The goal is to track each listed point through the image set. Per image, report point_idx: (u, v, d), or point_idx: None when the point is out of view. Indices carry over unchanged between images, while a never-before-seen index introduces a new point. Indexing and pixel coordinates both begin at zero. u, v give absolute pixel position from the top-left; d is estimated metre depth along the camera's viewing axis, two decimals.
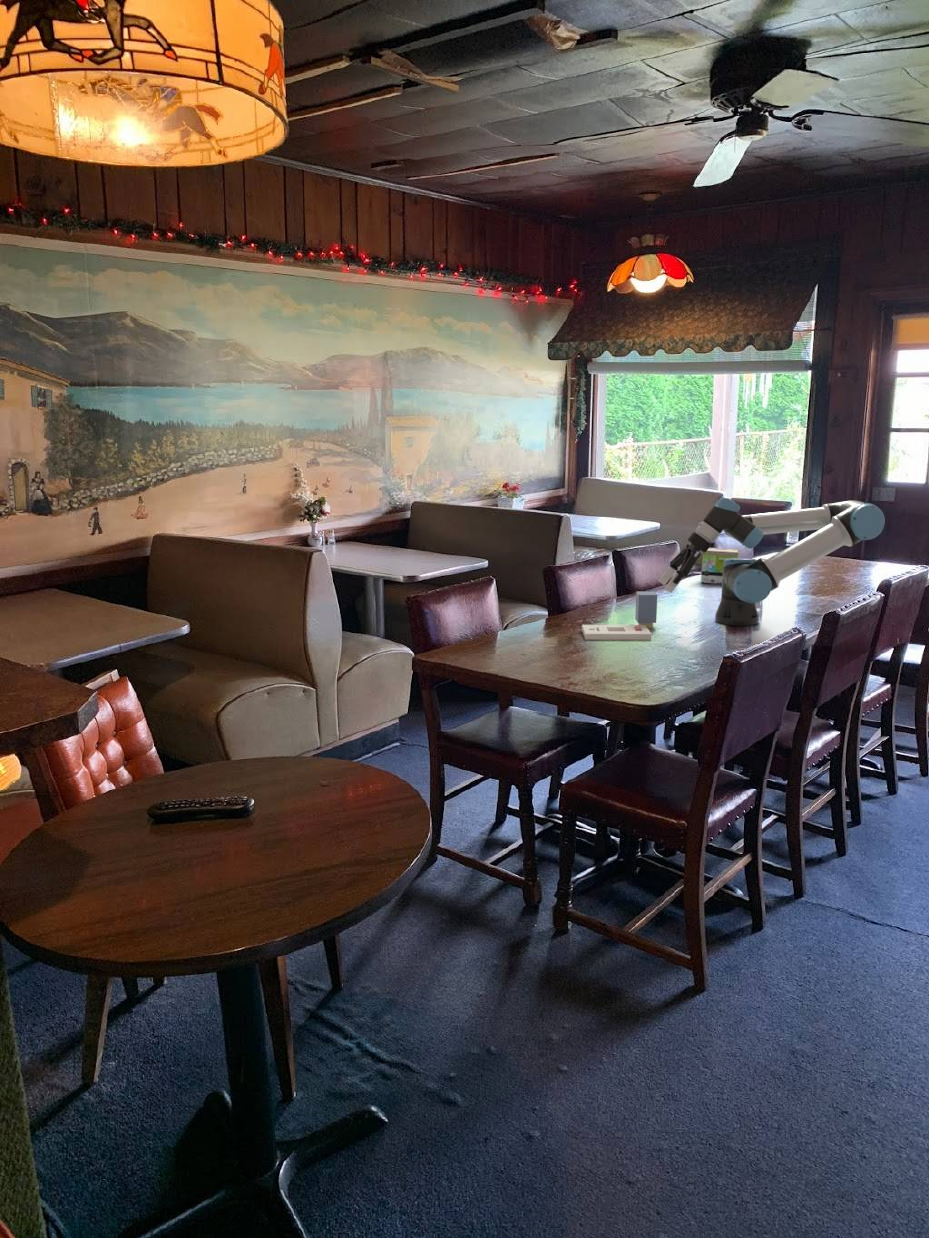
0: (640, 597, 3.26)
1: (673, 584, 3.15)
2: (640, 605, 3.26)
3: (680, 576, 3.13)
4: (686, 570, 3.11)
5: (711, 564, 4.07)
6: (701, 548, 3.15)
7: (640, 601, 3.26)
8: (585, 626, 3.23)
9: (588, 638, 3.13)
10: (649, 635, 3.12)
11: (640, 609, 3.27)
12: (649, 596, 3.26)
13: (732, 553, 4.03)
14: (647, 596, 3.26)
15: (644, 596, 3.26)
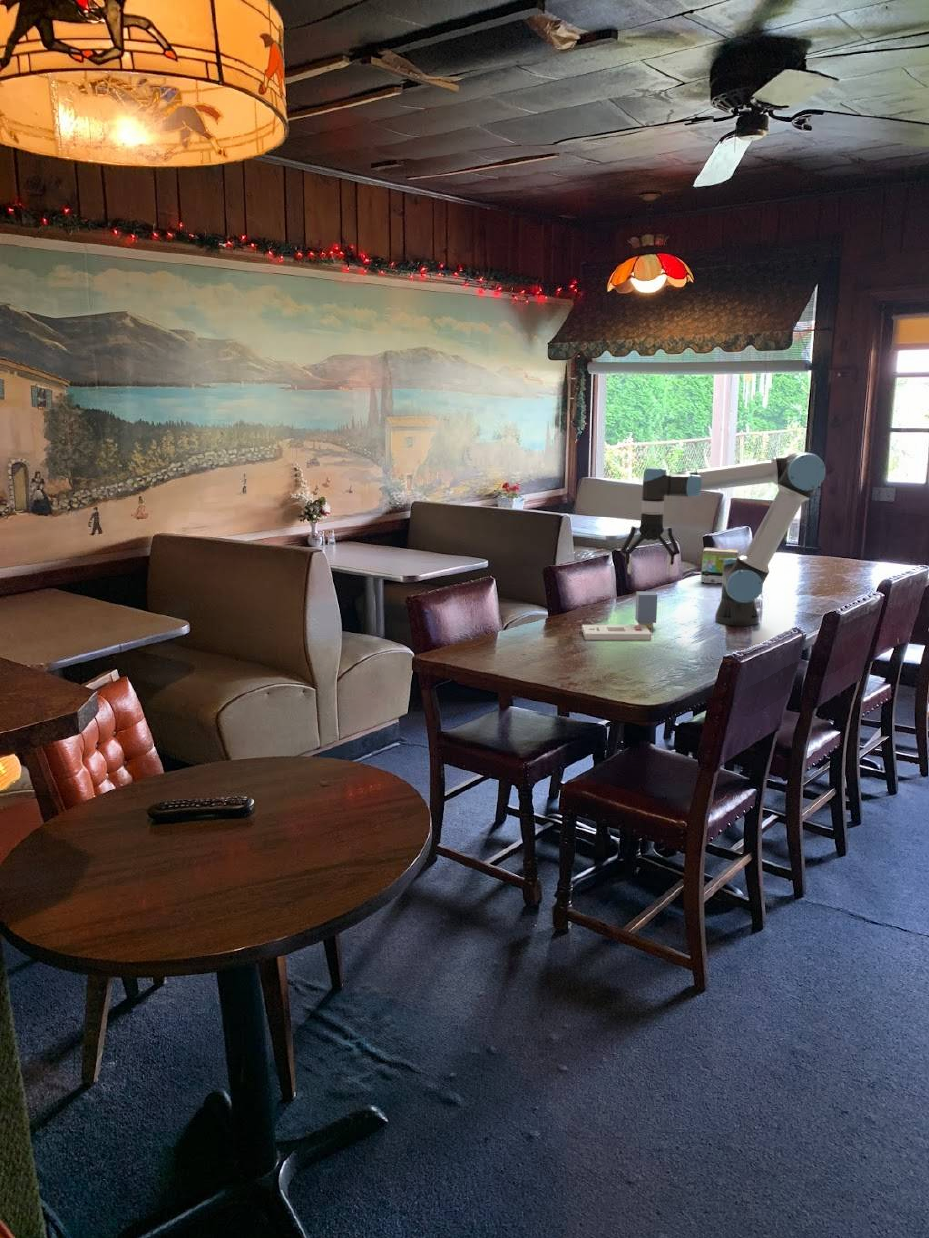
0: (640, 597, 3.26)
1: (628, 565, 3.26)
2: (640, 605, 3.26)
3: (625, 555, 3.25)
4: (622, 547, 3.25)
5: (711, 564, 4.07)
6: (641, 522, 3.22)
7: (640, 601, 3.26)
8: (585, 626, 3.23)
9: (588, 638, 3.13)
10: (649, 635, 3.12)
11: (640, 609, 3.27)
12: (649, 596, 3.26)
13: (732, 553, 4.03)
14: (647, 596, 3.26)
15: (644, 596, 3.26)
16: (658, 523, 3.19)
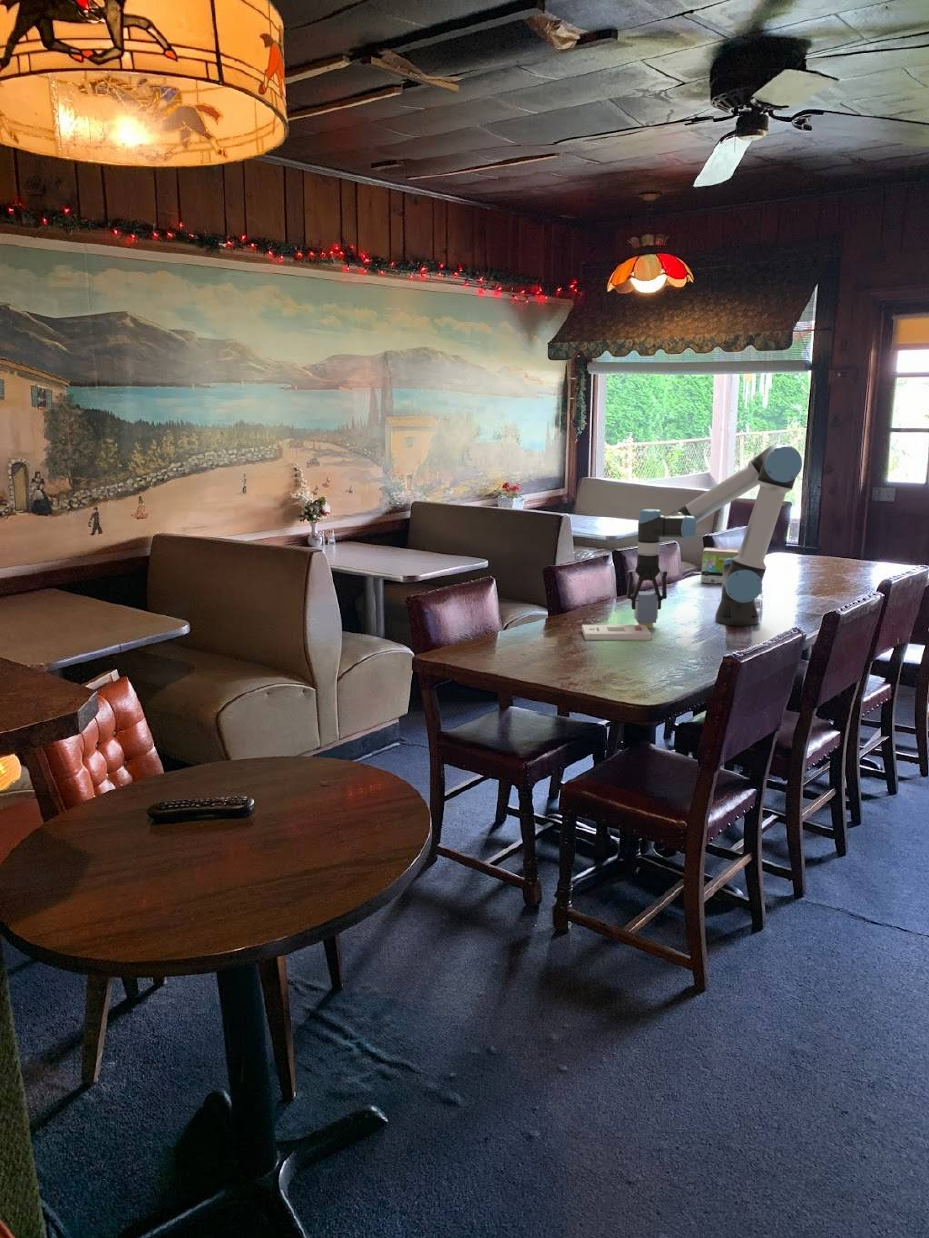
0: (640, 597, 3.26)
1: (634, 610, 3.30)
2: (640, 605, 3.26)
3: None
4: (627, 593, 3.29)
5: (711, 564, 4.07)
6: (637, 563, 3.25)
7: (640, 601, 3.26)
8: (585, 626, 3.23)
9: (588, 638, 3.13)
10: (649, 635, 3.12)
11: (640, 609, 3.27)
12: (649, 596, 3.26)
13: (732, 553, 4.03)
14: (647, 596, 3.26)
15: (644, 596, 3.26)
16: (654, 564, 3.23)
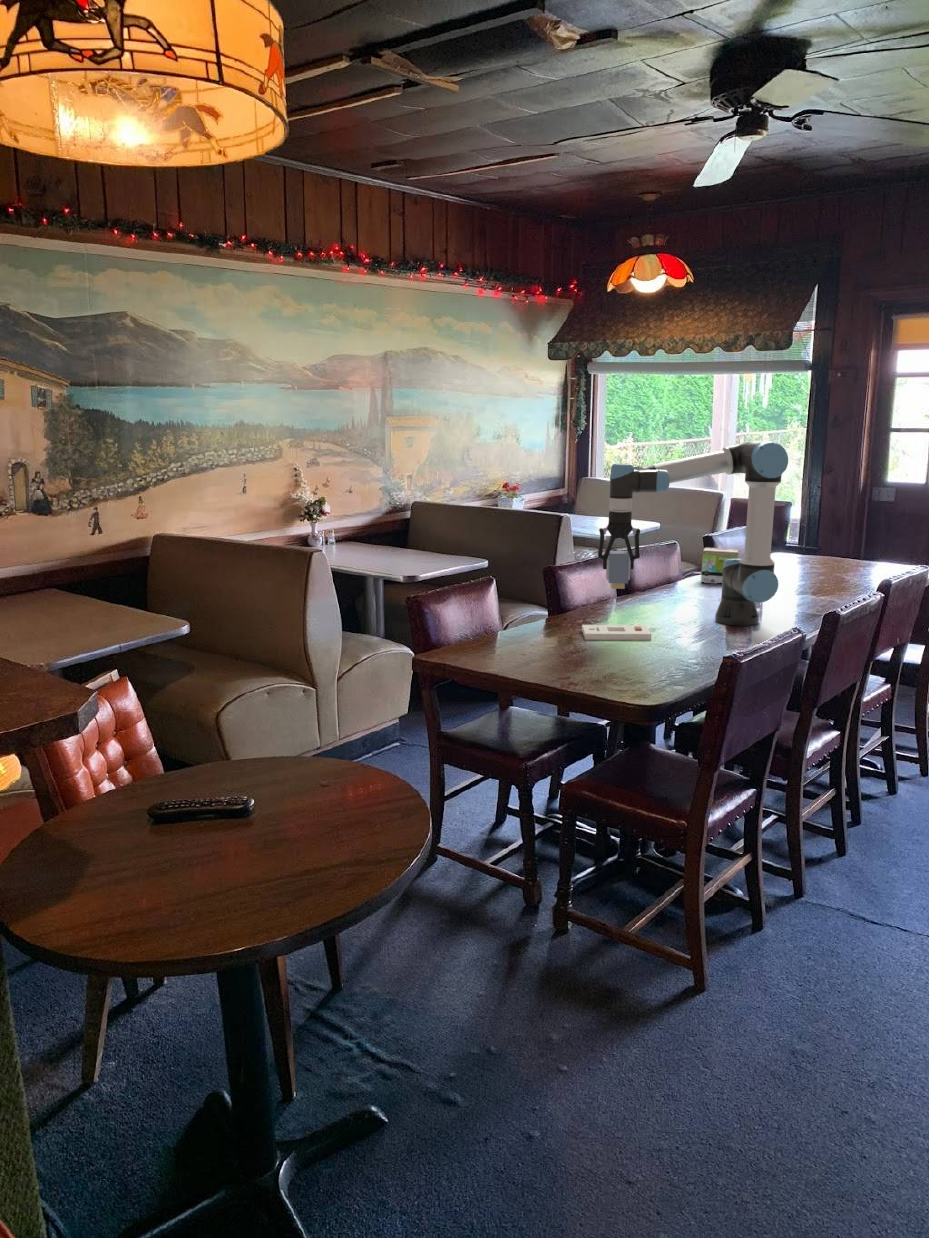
0: (611, 556, 3.11)
1: (606, 570, 3.15)
2: (611, 564, 3.11)
3: (603, 560, 3.14)
4: (598, 552, 3.14)
5: (711, 564, 4.07)
6: (609, 520, 3.10)
7: (611, 560, 3.11)
8: (585, 626, 3.23)
9: (588, 638, 3.13)
10: (649, 635, 3.12)
11: (611, 568, 3.12)
12: (621, 555, 3.10)
13: (732, 553, 4.03)
14: (619, 555, 3.10)
15: (615, 555, 3.10)
16: (626, 521, 3.08)
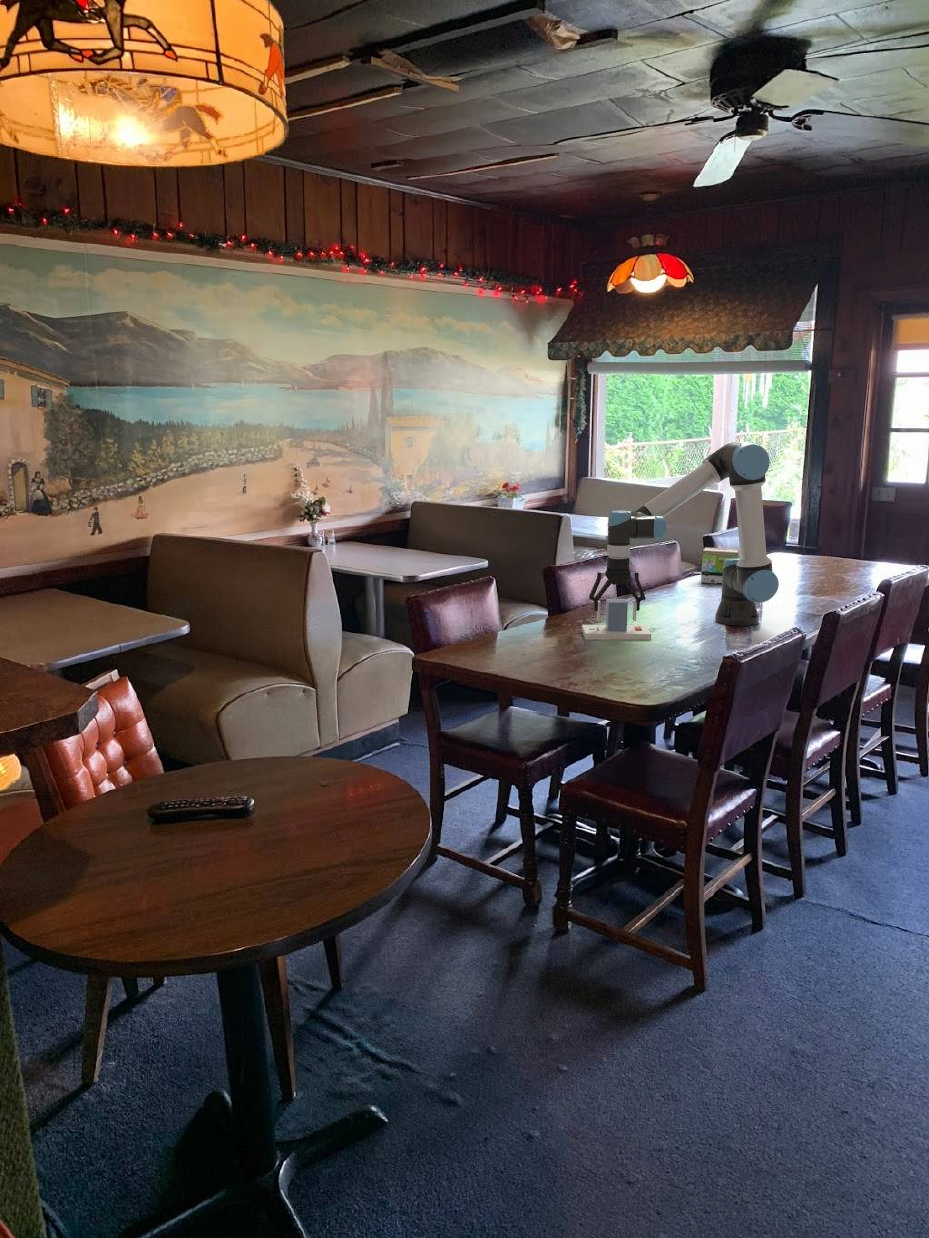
0: (610, 605, 3.14)
1: (597, 612, 3.17)
2: (610, 613, 3.14)
3: (594, 601, 3.17)
4: (590, 593, 3.16)
5: (711, 564, 4.07)
6: (607, 567, 3.13)
7: (610, 609, 3.14)
8: (585, 626, 3.23)
9: (588, 638, 3.13)
10: (649, 635, 3.12)
11: (610, 617, 3.15)
12: (619, 604, 3.13)
13: (732, 553, 4.03)
14: (617, 604, 3.13)
15: (614, 604, 3.14)
16: (624, 568, 3.11)
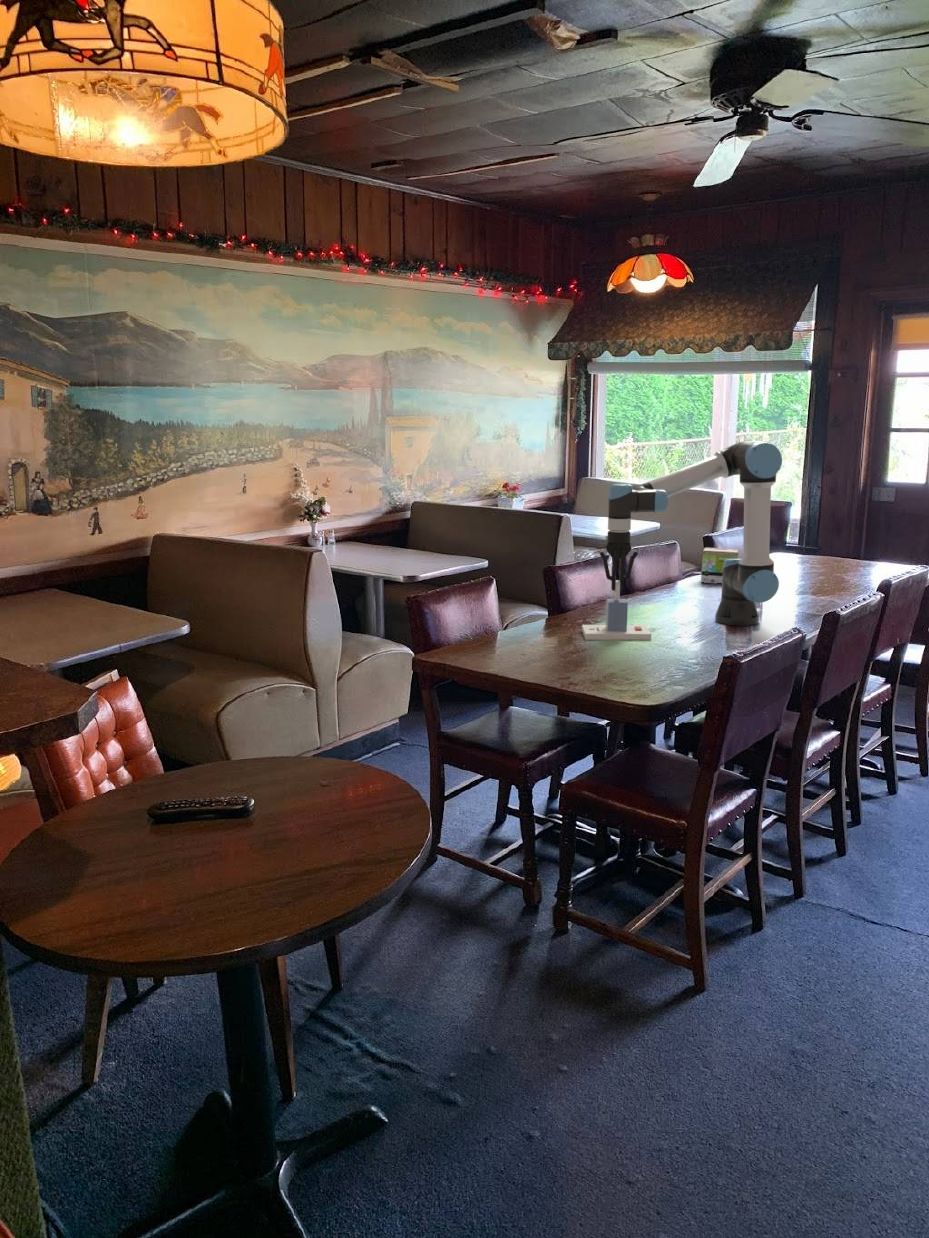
0: (610, 605, 3.14)
1: (615, 591, 3.16)
2: (610, 613, 3.14)
3: None
4: (606, 574, 3.15)
5: (711, 564, 4.07)
6: (608, 541, 3.11)
7: (610, 609, 3.14)
8: (585, 626, 3.23)
9: (588, 638, 3.13)
10: (649, 635, 3.12)
11: (610, 617, 3.15)
12: (619, 604, 3.13)
13: (732, 553, 4.03)
14: (617, 604, 3.13)
15: (614, 604, 3.14)
16: (625, 541, 3.09)
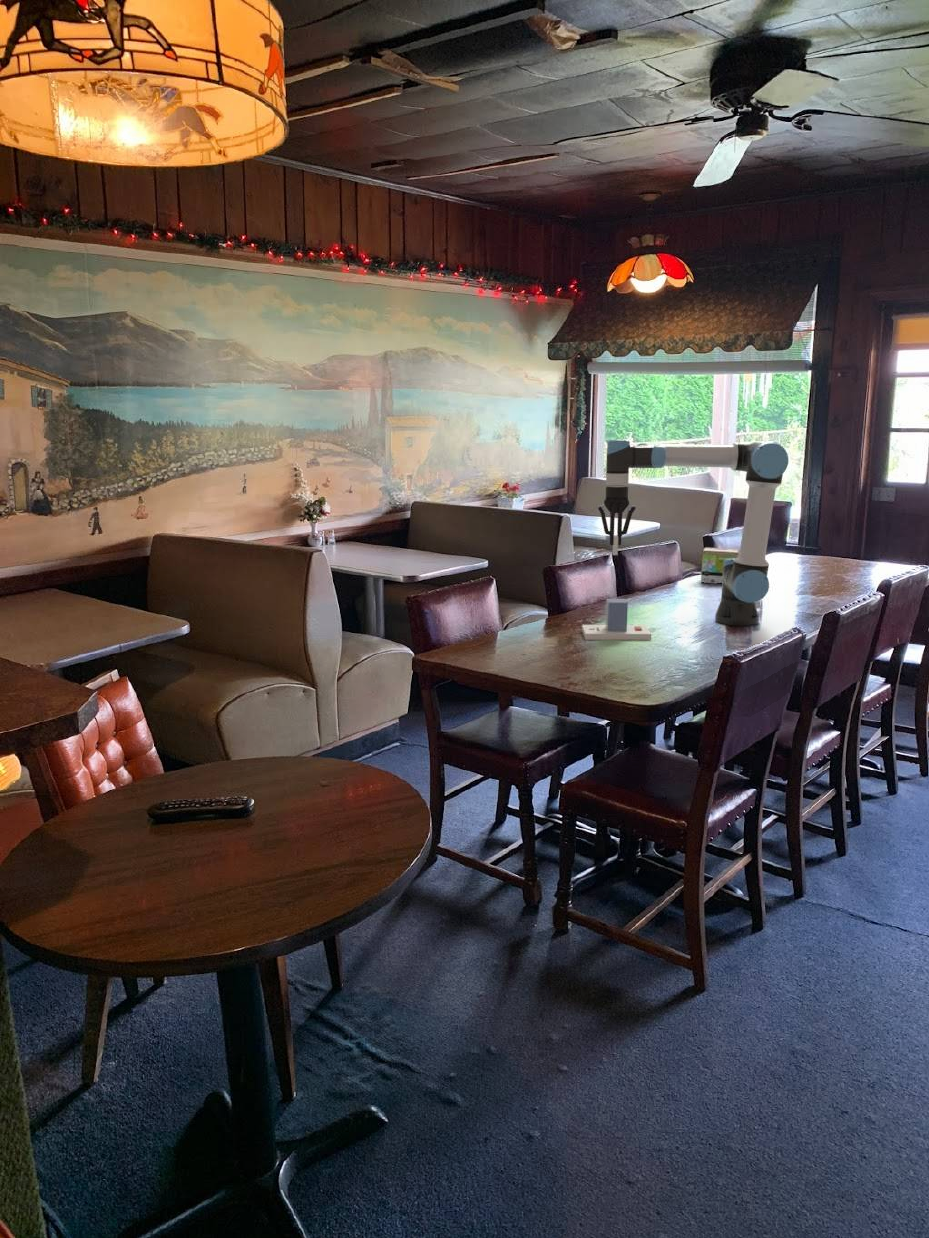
0: (610, 605, 3.14)
1: (613, 546, 3.21)
2: (610, 613, 3.14)
3: None
4: (604, 529, 3.20)
5: (711, 564, 4.07)
6: (606, 496, 3.17)
7: (610, 609, 3.14)
8: (585, 626, 3.23)
9: (588, 638, 3.13)
10: (649, 635, 3.12)
11: (610, 617, 3.15)
12: (619, 604, 3.13)
13: (732, 553, 4.03)
14: (617, 604, 3.13)
15: (614, 604, 3.14)
16: (623, 496, 3.14)
